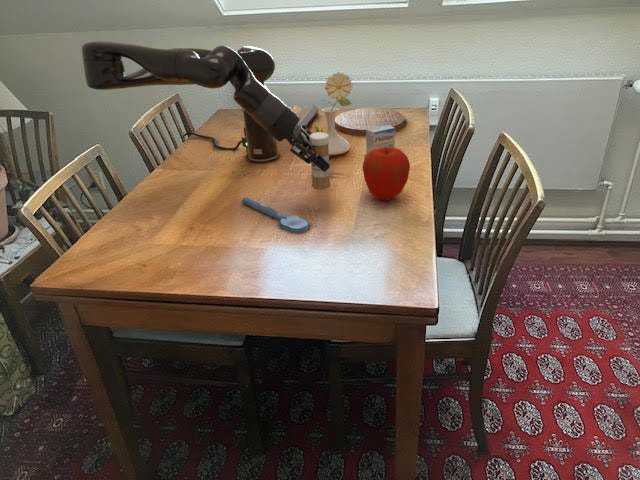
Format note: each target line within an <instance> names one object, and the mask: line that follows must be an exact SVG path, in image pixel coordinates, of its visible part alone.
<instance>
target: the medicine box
mask: <svg viewBox="0 0 640 480" xmlns="http://www.w3.org/2000/svg"><path fill="white" fill-rule="evenodd" d="M382 147H393V148H396V131H395V128H394V127H392V126H390V125H384V126H380V127H375V128H371V129H366V135H365V156H366V155H367V154H368V153H369V152H370V151H371V150H373V149H377V148H382Z"/></svg>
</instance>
